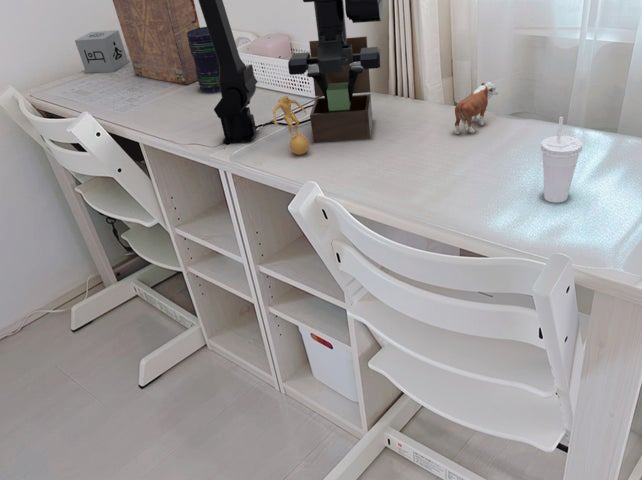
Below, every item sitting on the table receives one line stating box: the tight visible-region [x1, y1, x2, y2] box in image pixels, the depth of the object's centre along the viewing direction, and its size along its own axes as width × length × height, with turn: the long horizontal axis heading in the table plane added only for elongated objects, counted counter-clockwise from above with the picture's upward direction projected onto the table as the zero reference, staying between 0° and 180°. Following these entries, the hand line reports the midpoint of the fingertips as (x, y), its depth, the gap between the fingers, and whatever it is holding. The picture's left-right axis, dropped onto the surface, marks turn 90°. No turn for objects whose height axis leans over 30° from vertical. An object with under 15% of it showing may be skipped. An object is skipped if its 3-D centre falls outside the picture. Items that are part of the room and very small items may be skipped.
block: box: [327, 82, 351, 111], centre depth 129 cm, size 4×4×4 cm
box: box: [309, 93, 374, 144], centre depth 134 cm, size 10×12×6 cm
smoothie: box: [540, 116, 584, 204], centre depth 99 cm, size 6×6×14 cm
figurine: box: [272, 95, 310, 156], centre depth 125 cm, size 8×6×12 cm
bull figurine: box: [454, 81, 499, 135], centre depth 128 cm, size 4×13×8 cm, turn 137°
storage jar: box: [187, 21, 221, 94], centre depth 165 cm, size 10×10×18 cm
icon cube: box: [74, 29, 129, 74], centre depth 197 cm, size 10×10×10 cm
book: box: [112, 0, 201, 85], centre depth 176 cm, size 25×9×30 cm, turn 52°
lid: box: [308, 35, 371, 97], centre depth 133 cm, size 11×12×1 cm
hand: (339, 102), depth 130 cm, fingers closed on block, 4 cm apart
